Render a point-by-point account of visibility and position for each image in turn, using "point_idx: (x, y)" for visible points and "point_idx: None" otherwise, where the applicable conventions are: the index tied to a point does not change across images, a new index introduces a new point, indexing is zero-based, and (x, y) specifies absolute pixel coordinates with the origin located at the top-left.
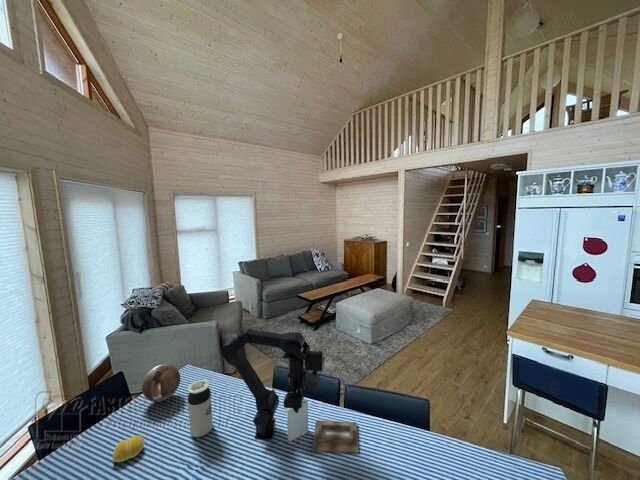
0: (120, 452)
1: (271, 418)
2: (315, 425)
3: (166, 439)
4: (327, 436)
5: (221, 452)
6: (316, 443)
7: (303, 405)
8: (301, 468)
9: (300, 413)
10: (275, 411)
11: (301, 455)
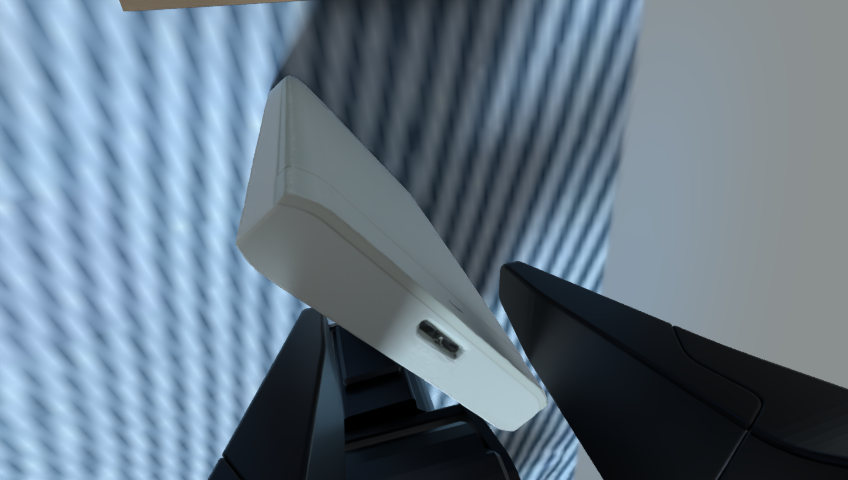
0: None
1: (466, 425)
2: (210, 2)
3: None
4: None
5: (502, 437)
6: None
7: (384, 240)
8: (602, 51)
9: (397, 220)
10: (429, 454)
11: (514, 77)
